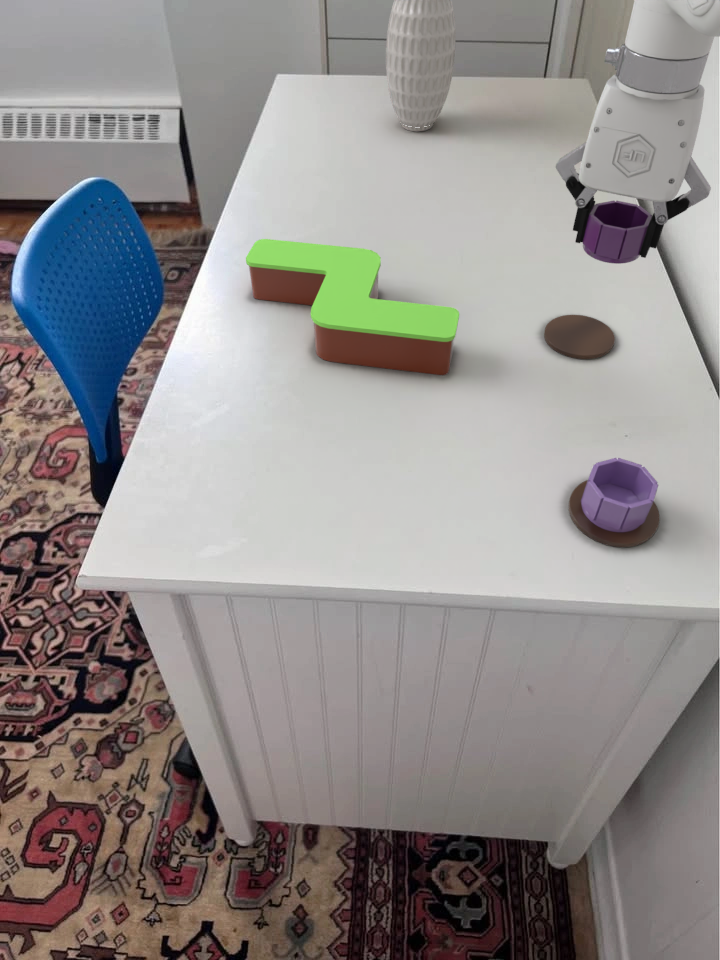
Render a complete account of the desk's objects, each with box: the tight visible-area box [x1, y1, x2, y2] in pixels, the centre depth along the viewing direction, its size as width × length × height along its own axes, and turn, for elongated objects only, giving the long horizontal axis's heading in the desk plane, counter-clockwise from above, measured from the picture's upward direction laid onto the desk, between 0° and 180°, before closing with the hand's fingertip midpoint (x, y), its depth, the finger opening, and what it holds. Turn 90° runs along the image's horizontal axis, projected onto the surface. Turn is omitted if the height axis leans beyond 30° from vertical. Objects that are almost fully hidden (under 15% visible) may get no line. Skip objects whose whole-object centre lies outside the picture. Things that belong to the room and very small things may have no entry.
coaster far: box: [543, 314, 616, 360], centre depth 94 cm, size 9×9×1 cm
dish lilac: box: [581, 457, 659, 532], centre depth 72 cm, size 6×6×4 cm
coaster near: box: [568, 479, 660, 548], centre depth 74 cm, size 9×9×1 cm
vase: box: [385, 0, 457, 132], centre depth 132 cm, size 13×13×28 cm
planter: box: [245, 238, 460, 376], centre depth 95 cm, size 30×18×6 cm, turn 78°
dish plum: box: [581, 200, 653, 265], centre depth 79 cm, size 6×6×4 cm
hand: (613, 243), depth 80 cm, fingers closed on dish plum, 6 cm apart
